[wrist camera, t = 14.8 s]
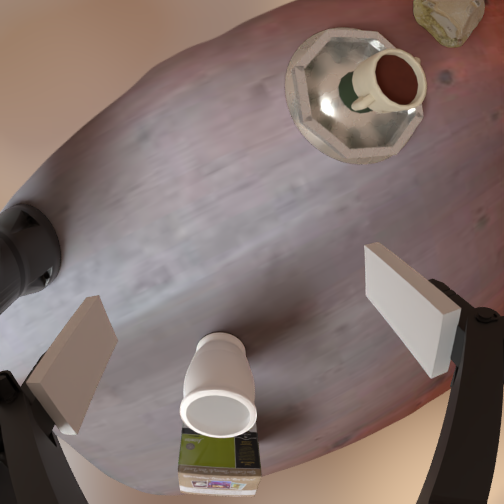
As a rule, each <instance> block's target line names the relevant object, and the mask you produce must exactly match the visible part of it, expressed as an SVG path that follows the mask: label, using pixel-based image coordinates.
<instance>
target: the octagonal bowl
mask: <svg viewBox="0 0 504 504" xmlns="http://www.w3.org/2000/svg"><path fill="white" fill-rule="evenodd" d="M388 48H394V49H396V48H395V47H394V46H393V45H392V44H391V43H390V42H389V41H388V40H386V39H385V38H384V37H383V36H382V35H381V34H380V33H378V32H375V31H363V30H359V29H355V28H333V29H327V30H324V31H321V32H319V33H317V34H315V35H313V36H311V37H310V38H308V39H307V40H306V41H305V42H304V43H303V44H301V45H300V46H299V48H298V49H297V50H296V52H295V53H294V55H293V56H292V58H291V60H290V62H289V65H288V68H287V72H286V77H285V97H286V102H287V106H288V109H289V112H290V115H291V117H292V119H293V121H294V123H295V125H296V126H297V128H298V129H299V131H300V132H301V134H302V135H303V136H304V137H305V138H306V139H307V141H308V142H310V143H311V144H312V145H313V146H314V147H315V148H317V149H318V150H319V151H321V152H322V153H324V154H326V155H327V156H329V157H331V158H334V159H336V160H339V161H342V162H346V163H351V164H372V163H377V162H380V161H383V160H385V159H387V158H389V157H391V156H393V155H397V154H398V152H399V151H400V150H401V149H402V148H403V147H404V145H405V144H406V143H407V142H408V140H409V139H410V137H411V136H412V134H413V132H414V130H415V129H416V127H417V126H418V125H419V123H420V122H421V120H422V119H423V110H422V103H421V104H420V105H419V106H417V107H416V108H413V109H409V110H403V111H396V112H390V113H379V112H376V111H370V112H367V113H361V114H360V113H357V112H353V111H351V110H350V109H349V108H348V107H347V106H345V105H344V103H343V101H342V99H341V97H340V96H339V87H338V86H339V83H340V81H341V78H342V77H343V76H345V75H346V74H347V73H349V72H352V71H354V70H355V69H356V67H357V66H358V65H359V63H360V62H362V61H364V60H366V59H367V58H369V57H371V56H373V55H374V54H376V53H378V52H381V51H383V50H386V49H388Z"/></svg>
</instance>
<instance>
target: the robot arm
mask: <svg viewBox="0 0 504 504" xmlns="http://www.w3.org/2000/svg"><path fill="white" fill-rule="evenodd" d="M364 249H365V277H366V296H367V297H368V299H369V300H370V301H371V302H372V304H373V305H374V306H375V307H376V309H377V310H378V311H379V312H380V313H381V315H382V316H383V317H384V318H385V320H386V321H387V322H388V323H389V325H390V326H391V327H392V328H393V330H394V331H395V332H396V334H397V335H398V336H399V337H400V339H401V340H402V341H403V343H404V344H405V345H406V346H407V348H408V349H409V350H410V352H411V353H412V354H413V356H414V357H415V358H416V359H417V361H418V362H419V363H420V365H421V366H422V367H423V369H424V370H425V371H426V373H427V374H428V375H429V377H430V378H433V377H436V376H438V375H441V374H443V373H445V372H447V371H448V368H449V364H450V360H452V361H453V362H454V363H455V364H456V368H455V372H454V375H453V379H452V382H451V385H450V387H451V392H450V397H449V402H448V406H447V410H446V414H445V418H444V422H443V426H442V430H441V433H440V437H439V440H438V444H437V447H436V450H435V454H434V457H433V460H432V463H431V466H430V469H429V472H428V474H427V477H426V480H425V483H424V485H423V488H422V490H421V493H420V495H419V498H418V500H417V503H416V504H487V500H488V496H489V492H490V488H491V483H492V479H493V474H494V469H495V462H496V456H497V451H498V444H499V436H500V427H501V417H502V403H503V384H504V316H500V315H499V314H498V313H497V312H496V311H494V310H492V309H490V308H486V307H478V308H474V307H472V306H471V305H470V304H469V303H468V302H466V301H465V300H464V299H463V298H461V297H460V296H459V295H458V294H457V295H456V293H455V292H454V291H453V290H450V288H449V287H448V286H446V285H445V284H444V283H442V282H440V281H437V280H434V279H430V280H427V279H425V278H424V277H423V276H422V275H420V274H419V273H418V272H417V271H415V270H414V269H413V268H412V267H410V266H409V265H408V264H406V263H405V262H404V261H403V260H401V259H400V258H399V257H397V256H396V255H395V254H393V253H392V252H391V251H390V250H388V249H387V248H386V247H384V246H383V245H382V244H380V243H379V242H377V243H372V244H367V245H364ZM60 261H61V253H60V246H59V241H58V238H57V235H56V233H55V230H54V228H53V227H52V225H51V223H50V222H49V220H48V219H47V218H46V217H45V216H44V215H43V214H42V213H41V212H40V211H39V210H37V209H36V208H34V207H32V206H29V205H24V204H20V205H15V206H13V207H10V208H8V209H6V210H4V211H3V212H2V213H1V214H0V315H1V314H2V313H3V312H4V311H5V310H6V309H7V308H8V307H9V306H10V305H11V304H12V303H13V302H14V301H15V300H16V299H17V298H19V297H21V296H24V295H28V294H32V293H36V292H39V291H41V290H43V289H44V288H46V287H47V286H48V285H49V284H50V283H51V282H52V281H53V280H54V279H55V277H56V275H57V273H58V271H59V267H60ZM117 342H118V339H117V337H116V335H115V333H114V330H113V328H112V326H111V323H110V321H109V319H108V316H107V314H106V311H105V309H104V306H103V304H102V301H101V299H100V296H99V295H98V296H92V297H87V298H86V299H85V300H84V302H83V303H82V304H81V305H80V307H79V308H78V309H77V311H76V312H75V313H74V315H73V316H72V317H71V319H70V320H69V321H68V323H67V324H66V325H65V327H64V328H63V329H62V331H61V332H60V333H59V335H58V336H57V338H56V339H55V340H54V342H53V343H52V345H51V346H50V347H49V349H48V350H47V351H46V352H45V353H44V354H43V355H42V356H41V357H40V359H39V360H38V362H37V364H36V365H35V366H34V367H33V370H31V372H30V373H29V375H28V376H27V378H26V379H25V381H24V382H23V384H22V386H21V387H20V386H19V384H18V383H17V381H16V379H15V378H14V376H13V375H12V373H11V371H8V370H6V371H1V372H0V504H88V502H87V500H86V498H85V496H84V494H83V493H82V491H81V489H80V487H79V485H78V483H77V481H76V479H75V477H74V475H73V473H72V471H71V468H70V466H69V464H68V462H67V460H66V457H65V455H64V453H63V451H62V448H61V446H60V443H59V441H58V439H57V436H56V435H55V434H54V432H53V431H52V429H53V427H54V425H56V426H57V427H58V429H59V430H60V431H61V432H62V434H70V435H78V432H79V429H80V427H81V424H82V422H83V419H84V417H85V414H86V412H87V410H88V407H89V405H90V402H91V400H92V398H93V395H94V393H95V390H96V388H97V386H98V383H99V381H100V379H101V377H102V374H103V372H104V370H105V368H106V365H107V363H108V361H109V359H110V357H111V354H112V352H113V350H114V348H115V346H116V344H117Z"/></svg>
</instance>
